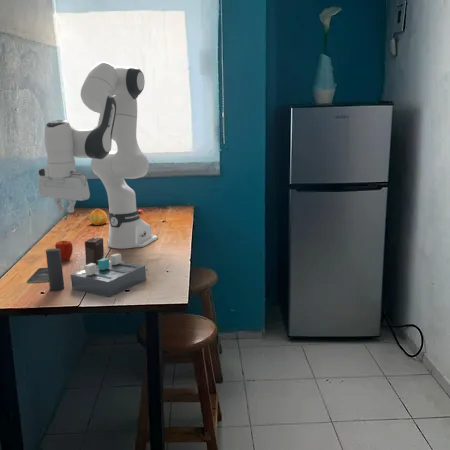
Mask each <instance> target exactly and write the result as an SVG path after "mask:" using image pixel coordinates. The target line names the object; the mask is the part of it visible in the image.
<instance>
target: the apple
mask: <svg viewBox="0 0 450 450" xmlns="http://www.w3.org/2000/svg"><path fill="white" fill-rule="evenodd" d="M55 248H57V249H60V252H61V262H66V261H69V260H70V259H71V257H72V254H73V243H72V241H70V240H59V241H57V242H56V243H55Z"/></svg>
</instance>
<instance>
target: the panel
mask: <svg viewBox="0 0 450 450" xmlns="http://www.w3.org/2000/svg"><path fill="white" fill-rule="evenodd" d="M96 269H97V273H95V274H93V275H85V268H84V269H82V270H78V271H76V272H74V273H72V274H70V280H71V283H70V284H71V290H73V291H79V292H82V293H83V292H84V293H87V294H92V295H96V296H97V295H98V296H102V297H107V298H111V297H113V296H115V295H117V294H120V293H122V292H124V291H126V290H128V289H130V288H132V287H134V286H137V285H138V284H140V283H142V282H144V281H147V271H146V269H147V268H146V265H145V264H138V263H133V262H128V261H127V262H126V261H121V263H119V264H117V265H113V264H111V259H109V268H107V269H105V270H100V269H99V268H98V264H97V265H96Z"/></svg>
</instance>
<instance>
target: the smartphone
mask: <svg viewBox="0 0 450 450" xmlns="http://www.w3.org/2000/svg"><path fill="white" fill-rule="evenodd" d="M48 282H49V275H48V267H40V268H37V270H36V271H35V272H33V273H32V275H31V276H30V277H29V278H28V279H27V280H26V283H27V284H34V283H35V284H36V283H37V284H39V283H48Z"/></svg>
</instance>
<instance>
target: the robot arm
mask: <svg viewBox="0 0 450 450" xmlns="http://www.w3.org/2000/svg"><path fill="white" fill-rule="evenodd" d="M144 88H145V75H144V72H142V70H141V69H140V68H139V67H138V68H137V67H134V66H121V65H115V66H114V65H113V64H111V63H109V62H106V61H100V62H97V63H96V64H95V65H94V66H93V67H92V68H91V70H90V71H89V73H88V74H87V76H86V77H85V80H84V82H83V84H82V86H81V89H80V98H81V101H82V103H83V104H84V106H86V107H87V108H88V109H89V110H91V111H92V112H95V113H98V114H99V117H98V121H97V126H95V127H94V128H93V127H92V128H90V129H88V128H83V129H82V128H81V129H78V128H74V127H73V126H71V124H70V121H68V120H66V119H57V120H52V121H49V122H47V123H45V127H44V145H45V147H44V148H45V151H46V154H47V158H46V166H44V167H42V168H39V169H37V170H36V175H37V176H38V178H37V186H38V187H37V188H38V193H39V195H40V197H42V198H49V199H53V202H54V204H55V206H56V207H57V211H58V212H61V213H62V212H65V205H63V203H62V200H67V202H68V207H66V213H70V214H71V213H74V212H75V205H76V203H77V201H78V202H79V201H80V202H82V201H83V202H84V201H87V200H89V199H90V197H91V192H90V187H89V183H88V179H87V175H85V173H83V172H82V171H77V170H76V169H77V168H76V160H75V158H78V159H91V160H90V167H91V170H92V172H93V173H94V175H95V176H97V177H98V178H99V179H100V181H101V183H102V184H103V186H104V188H105V191H106V195H107V201H108V208H109V209H108V210H109V212H108V215H107V218H108V221H109V224H108V239H107V246H108V247H109V248H112V249H131V248H143V247H146V246H147V245H148V244H150V243H152V242H154V241H155V240H157V239H159V238H158V236H157V235H156V234H153V233H152V227H151V225H150V224H149V223H148V222H146V221H144V220H143V219H142V218H141V217H140V216H142V215H144V210H143V209H138V210H137V198H136V197H137V196H136V191H135V190H134V189H133V188H131V187H130V186H129V185H128V184H127V182H126V180H125V179H127V180H129V179H130V180H133V179H134V180H135V179H140V178H143V177H145V176H146V175H147V173H148V171H149V167H150V164H149V163H150V162H149V160H148V157H147V156H146V155H145V154H144V152H143V151H142V150H141V148H140V146H139V144H138V139H137V124H138V123H137V122H138V100H137V98H138V97H139V96H140V95H141V94H142V93H143V90H144ZM112 140H113V142H115V144H116V146H117V147H116V149H117V150H112Z"/></svg>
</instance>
